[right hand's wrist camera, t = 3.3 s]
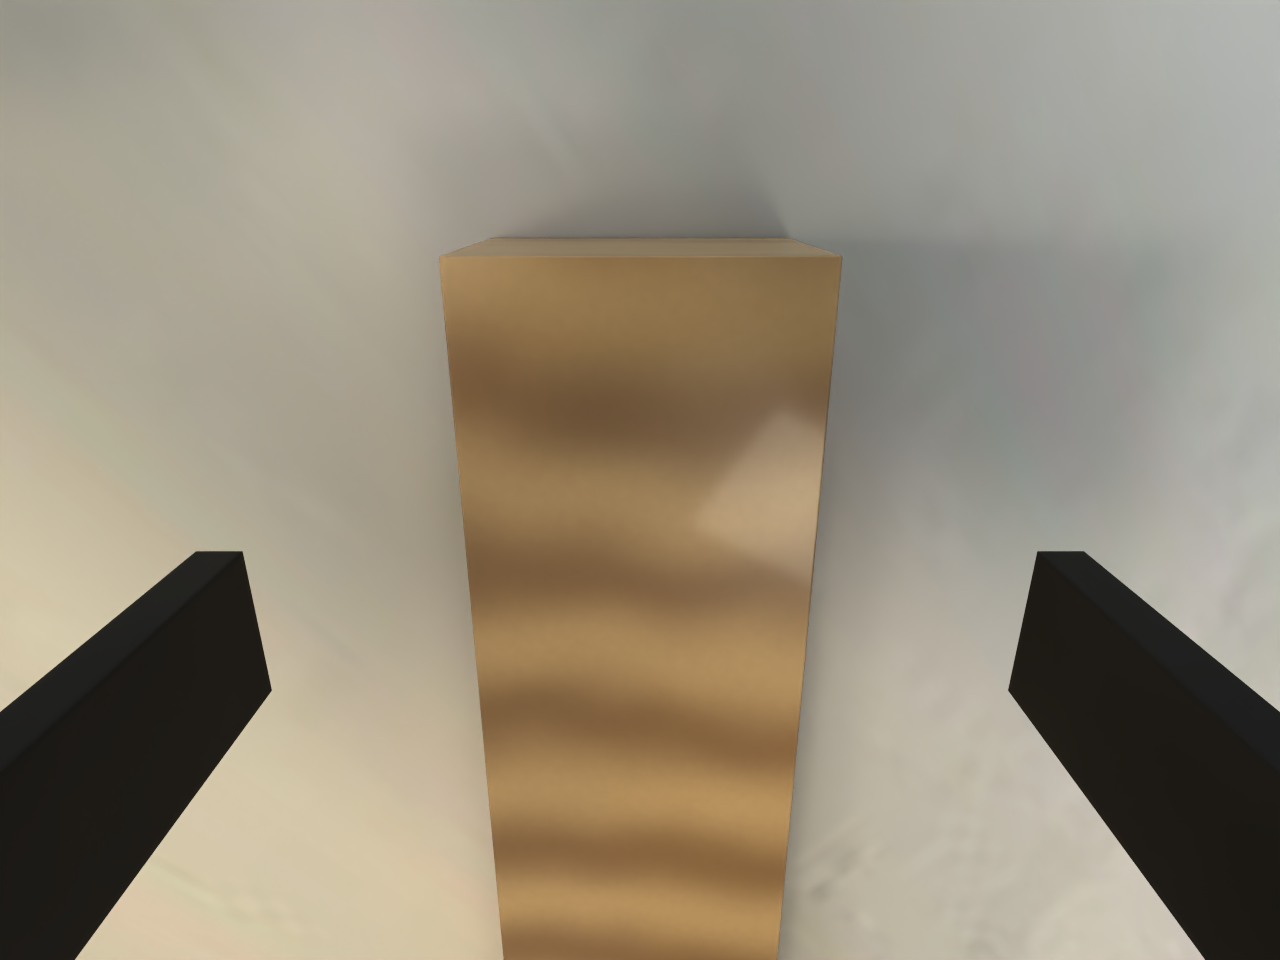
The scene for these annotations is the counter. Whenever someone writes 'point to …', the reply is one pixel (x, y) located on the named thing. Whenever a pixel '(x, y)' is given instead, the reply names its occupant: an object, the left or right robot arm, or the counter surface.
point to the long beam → (640, 576)
